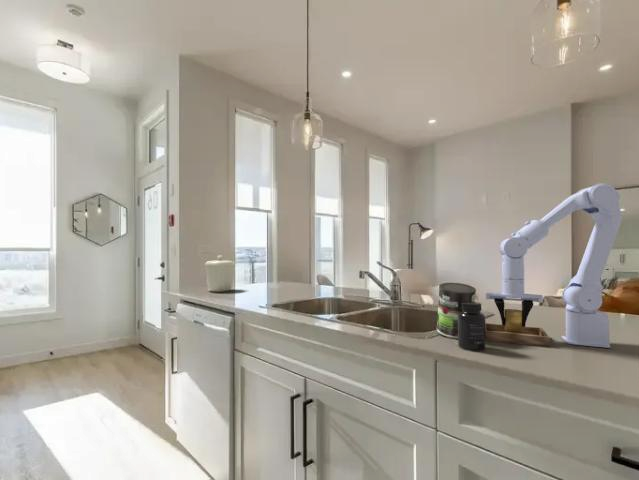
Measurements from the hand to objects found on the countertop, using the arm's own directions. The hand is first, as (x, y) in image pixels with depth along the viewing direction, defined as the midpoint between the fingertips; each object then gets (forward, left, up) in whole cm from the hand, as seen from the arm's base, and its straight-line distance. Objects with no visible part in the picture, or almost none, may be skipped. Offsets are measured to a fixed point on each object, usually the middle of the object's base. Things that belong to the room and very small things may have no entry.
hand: (513, 325), depth 102 cm
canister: (+149, -48, -4) cm, 157 cm away
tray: (0, 0, -4) cm, 4 cm away
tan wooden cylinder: (0, 0, -2) cm, 2 cm away
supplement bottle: (+11, +15, -4) cm, 19 cm away
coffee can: (+16, +2, -3) cm, 17 cm away
